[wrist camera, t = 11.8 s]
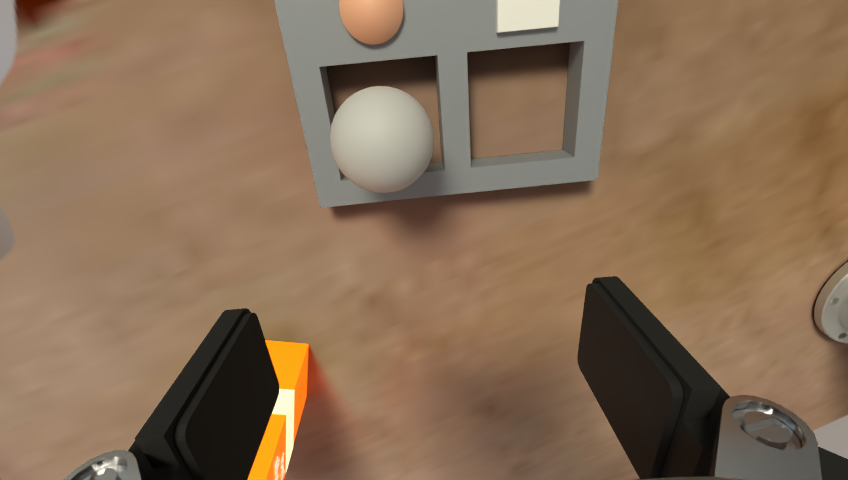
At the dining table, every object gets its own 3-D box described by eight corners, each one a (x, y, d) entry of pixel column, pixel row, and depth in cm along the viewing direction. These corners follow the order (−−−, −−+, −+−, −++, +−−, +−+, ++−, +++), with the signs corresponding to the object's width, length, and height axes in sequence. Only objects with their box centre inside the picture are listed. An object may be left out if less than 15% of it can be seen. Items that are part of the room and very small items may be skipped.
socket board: (607, -63, 26) (630, -75, 23) (584, 170, 33) (599, 181, 30) (277, -31, 26) (263, -40, 23) (325, 197, 33) (319, 209, 30)
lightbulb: (434, 85, 29) (444, 98, 19) (424, 165, 32) (428, 212, 22) (353, 74, 29) (320, 81, 19) (349, 156, 31) (318, 200, 21)
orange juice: (307, 397, 43) (239, 647, 25) (223, 391, 42) (90, 647, 24) (309, 342, 40) (232, 585, 22) (218, 334, 39) (59, 582, 21)
